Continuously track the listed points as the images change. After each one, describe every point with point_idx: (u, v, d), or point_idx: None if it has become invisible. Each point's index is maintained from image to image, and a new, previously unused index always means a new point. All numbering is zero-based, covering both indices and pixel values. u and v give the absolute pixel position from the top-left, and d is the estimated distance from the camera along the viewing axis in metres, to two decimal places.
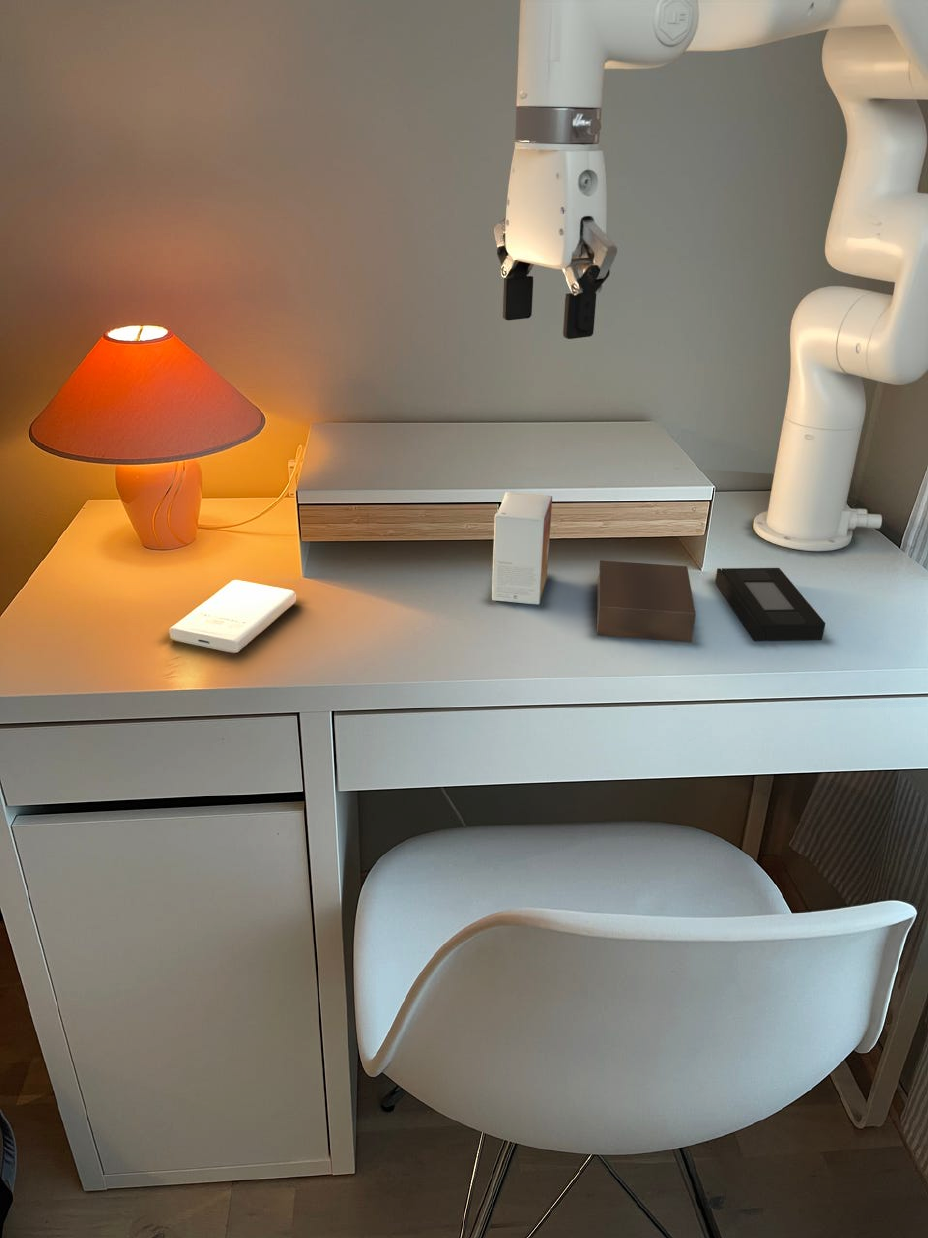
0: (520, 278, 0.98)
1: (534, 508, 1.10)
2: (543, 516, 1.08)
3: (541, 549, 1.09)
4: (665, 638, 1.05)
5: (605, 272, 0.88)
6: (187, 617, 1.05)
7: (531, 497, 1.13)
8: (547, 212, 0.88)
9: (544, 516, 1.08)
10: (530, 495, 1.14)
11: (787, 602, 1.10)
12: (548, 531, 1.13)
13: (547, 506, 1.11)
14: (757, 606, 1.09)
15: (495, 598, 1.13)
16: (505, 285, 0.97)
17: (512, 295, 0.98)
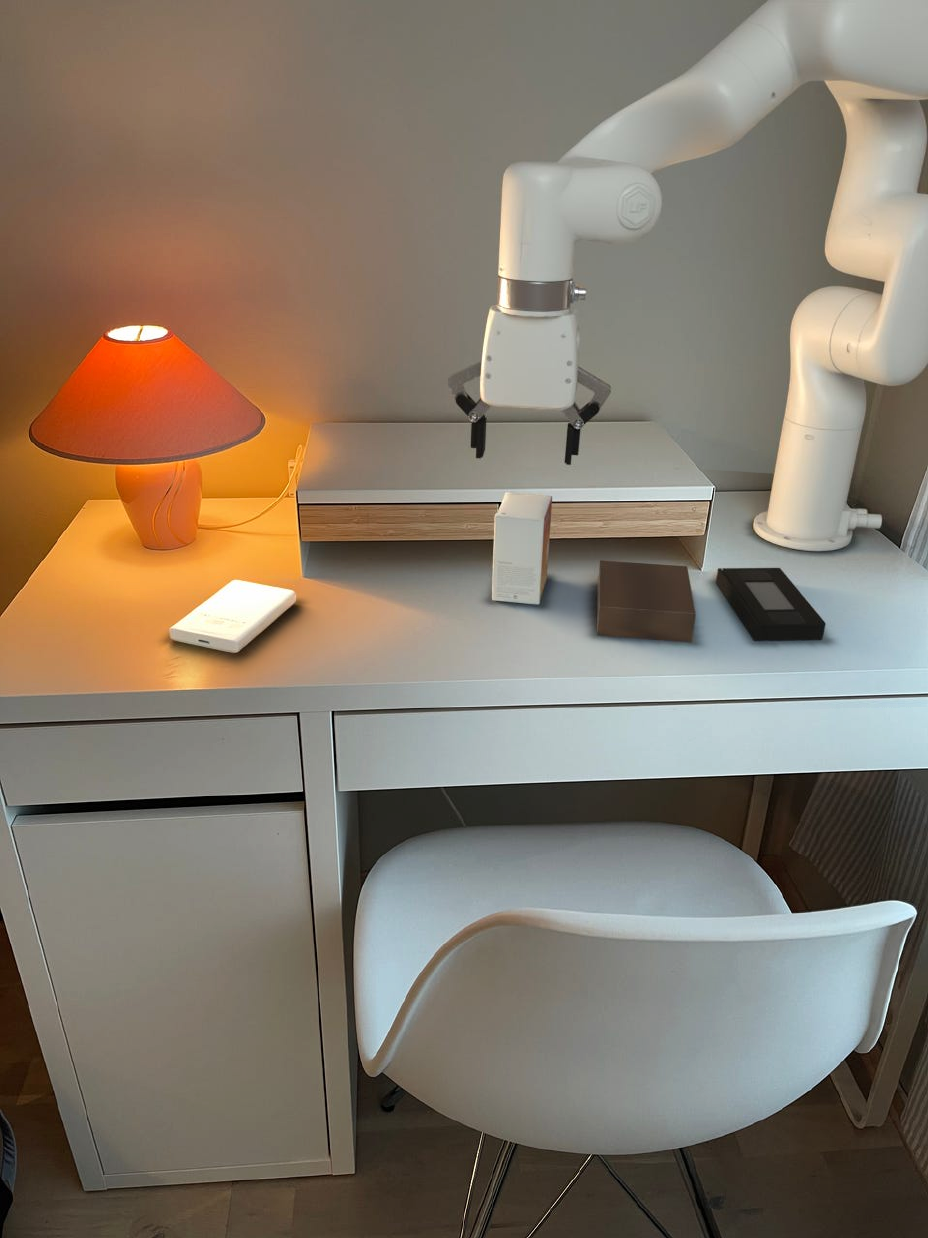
0: (483, 420, 1.07)
1: (534, 508, 1.10)
2: (543, 516, 1.08)
3: (541, 549, 1.09)
4: (665, 638, 1.05)
5: None
6: (187, 617, 1.05)
7: (531, 497, 1.13)
8: (551, 366, 1.01)
9: (544, 516, 1.08)
10: (530, 495, 1.14)
11: (788, 602, 1.10)
12: (548, 531, 1.13)
13: (547, 506, 1.11)
14: (758, 606, 1.09)
15: (495, 598, 1.13)
16: (479, 429, 1.06)
17: (483, 436, 1.07)
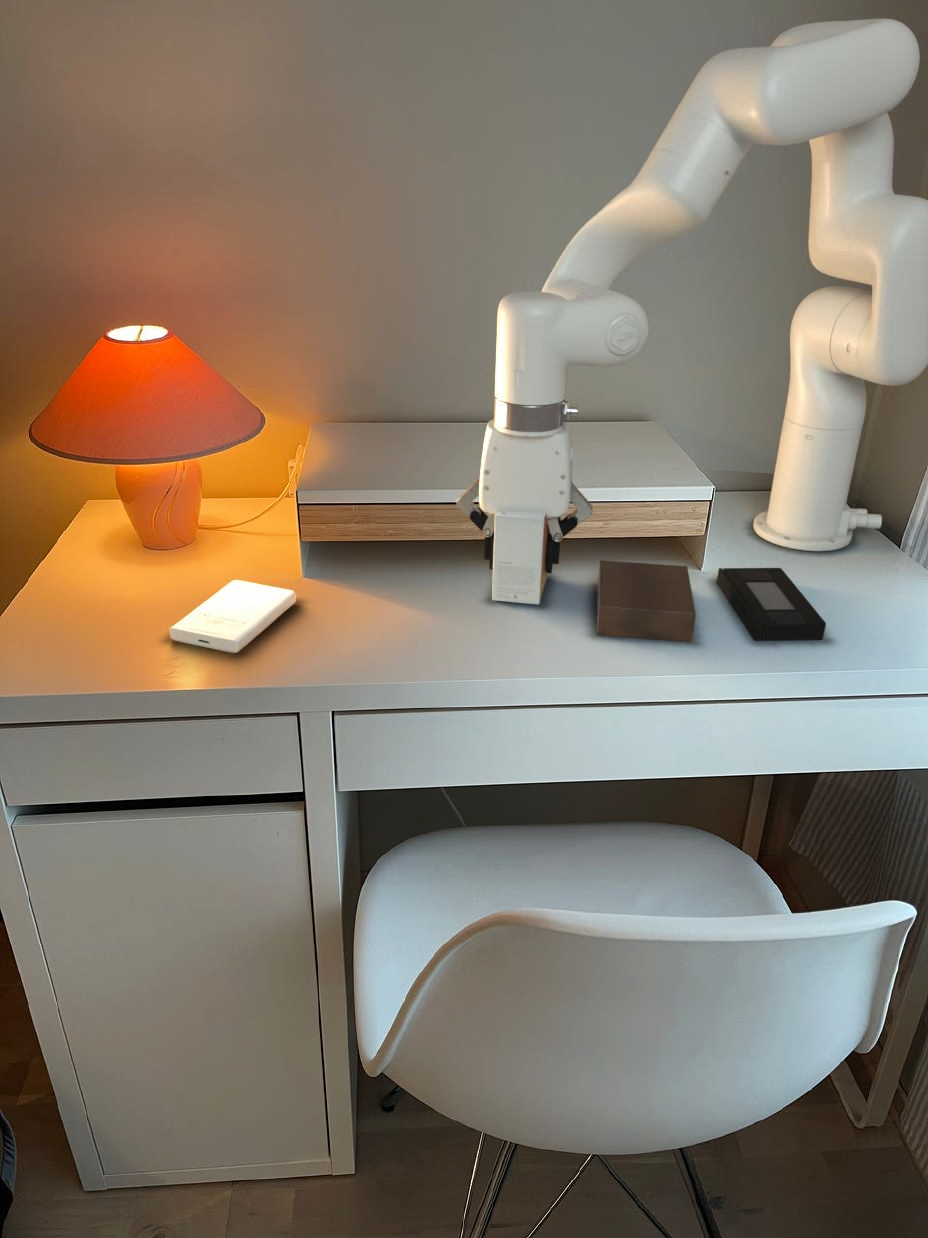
0: None
1: None
2: (543, 516, 1.08)
3: (541, 549, 1.09)
4: (665, 638, 1.05)
5: None
6: (187, 617, 1.05)
7: None
8: (545, 479, 1.07)
9: (544, 516, 1.08)
10: None
11: (788, 602, 1.10)
12: (548, 531, 1.13)
13: None
14: (758, 606, 1.09)
15: (495, 598, 1.13)
16: (492, 543, 1.12)
17: None
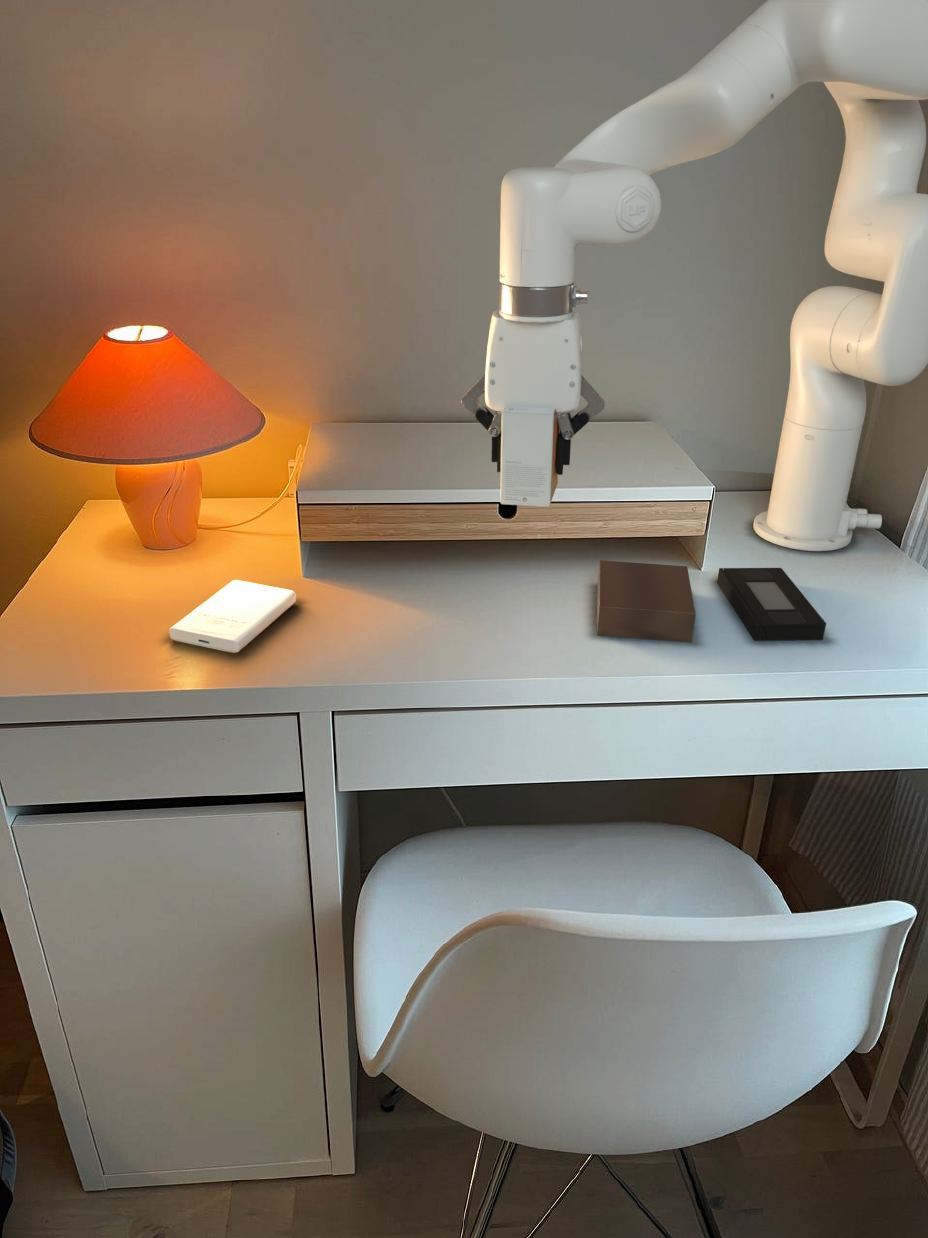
0: None
1: None
2: (553, 410, 1.03)
3: (551, 446, 1.04)
4: (665, 638, 1.05)
5: None
6: (187, 617, 1.05)
7: None
8: (554, 370, 1.02)
9: (554, 410, 1.03)
10: None
11: (788, 602, 1.10)
12: (558, 430, 1.08)
13: None
14: (758, 606, 1.09)
15: (504, 501, 1.07)
16: (500, 443, 1.07)
17: None
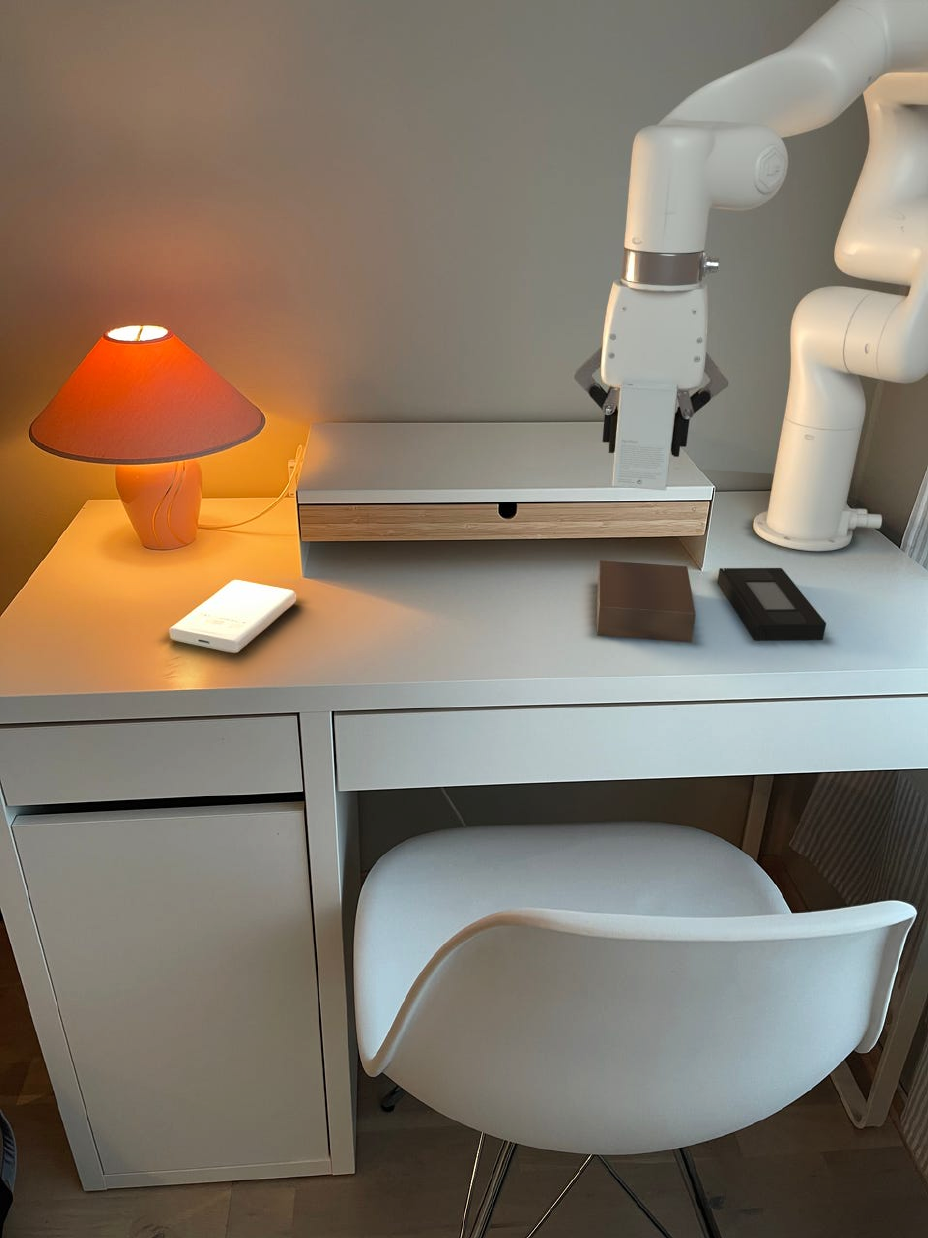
0: (617, 412, 1.02)
1: None
2: (675, 386, 0.97)
3: (672, 424, 0.97)
4: (665, 638, 1.05)
5: None
6: (187, 617, 1.05)
7: None
8: (679, 343, 0.95)
9: (676, 387, 0.97)
10: None
11: (789, 602, 1.10)
12: None
13: None
14: (758, 606, 1.09)
15: (616, 484, 1.01)
16: (614, 422, 1.00)
17: None
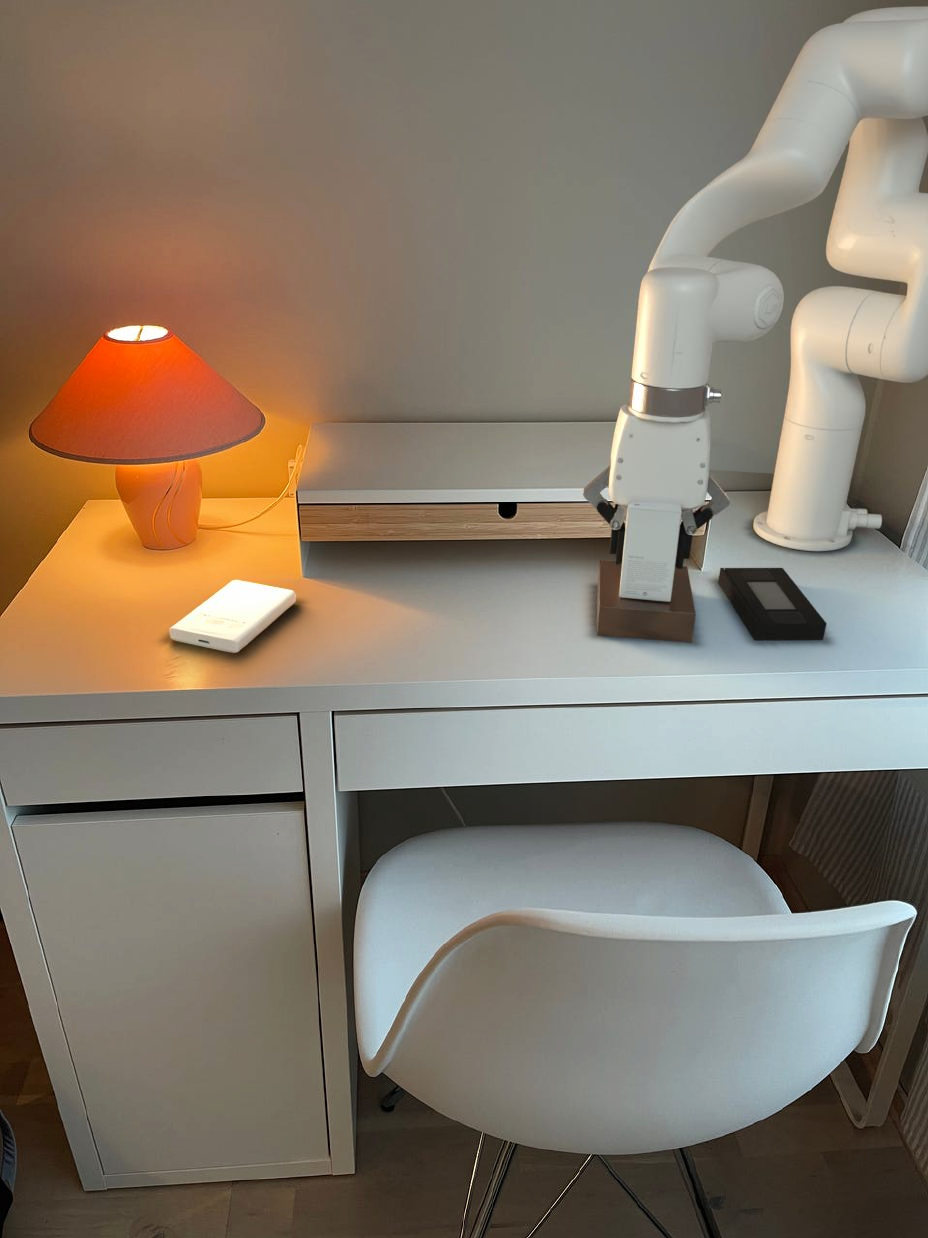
0: (624, 526, 1.07)
1: None
2: (680, 507, 1.02)
3: (676, 543, 1.02)
4: (665, 638, 1.05)
5: None
6: (187, 617, 1.05)
7: None
8: (683, 468, 1.00)
9: (680, 507, 1.02)
10: None
11: (789, 601, 1.10)
12: None
13: None
14: (759, 606, 1.09)
15: (623, 595, 1.06)
16: (621, 537, 1.05)
17: None
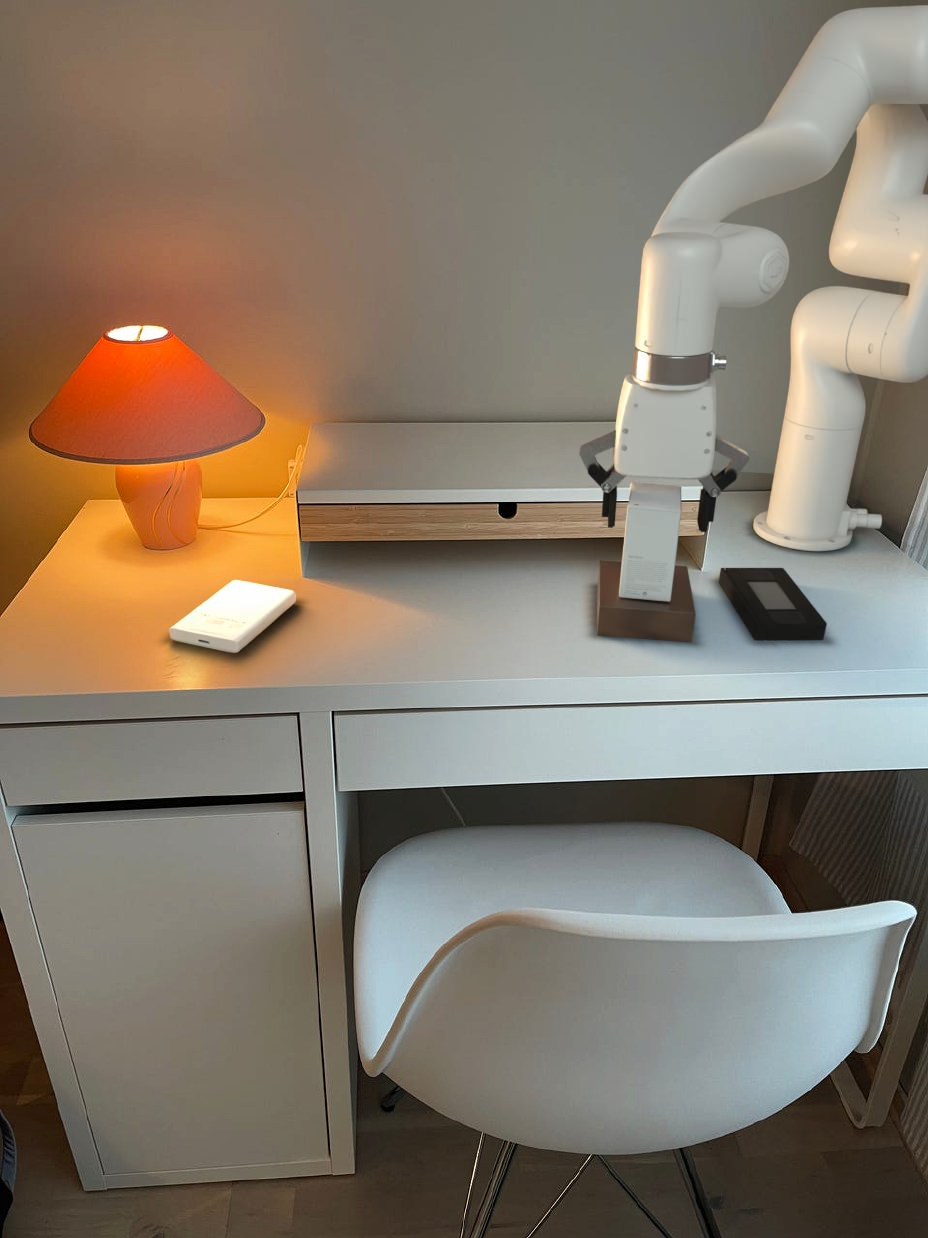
0: (615, 489, 1.05)
1: (667, 499, 1.03)
2: (679, 507, 1.02)
3: (676, 542, 1.02)
4: (665, 638, 1.05)
5: None
6: (187, 617, 1.05)
7: (660, 488, 1.07)
8: (689, 437, 0.99)
9: (680, 507, 1.02)
10: (658, 485, 1.07)
11: (789, 601, 1.10)
12: None
13: (680, 497, 1.04)
14: (759, 606, 1.09)
15: (623, 595, 1.06)
16: (612, 499, 1.04)
17: None
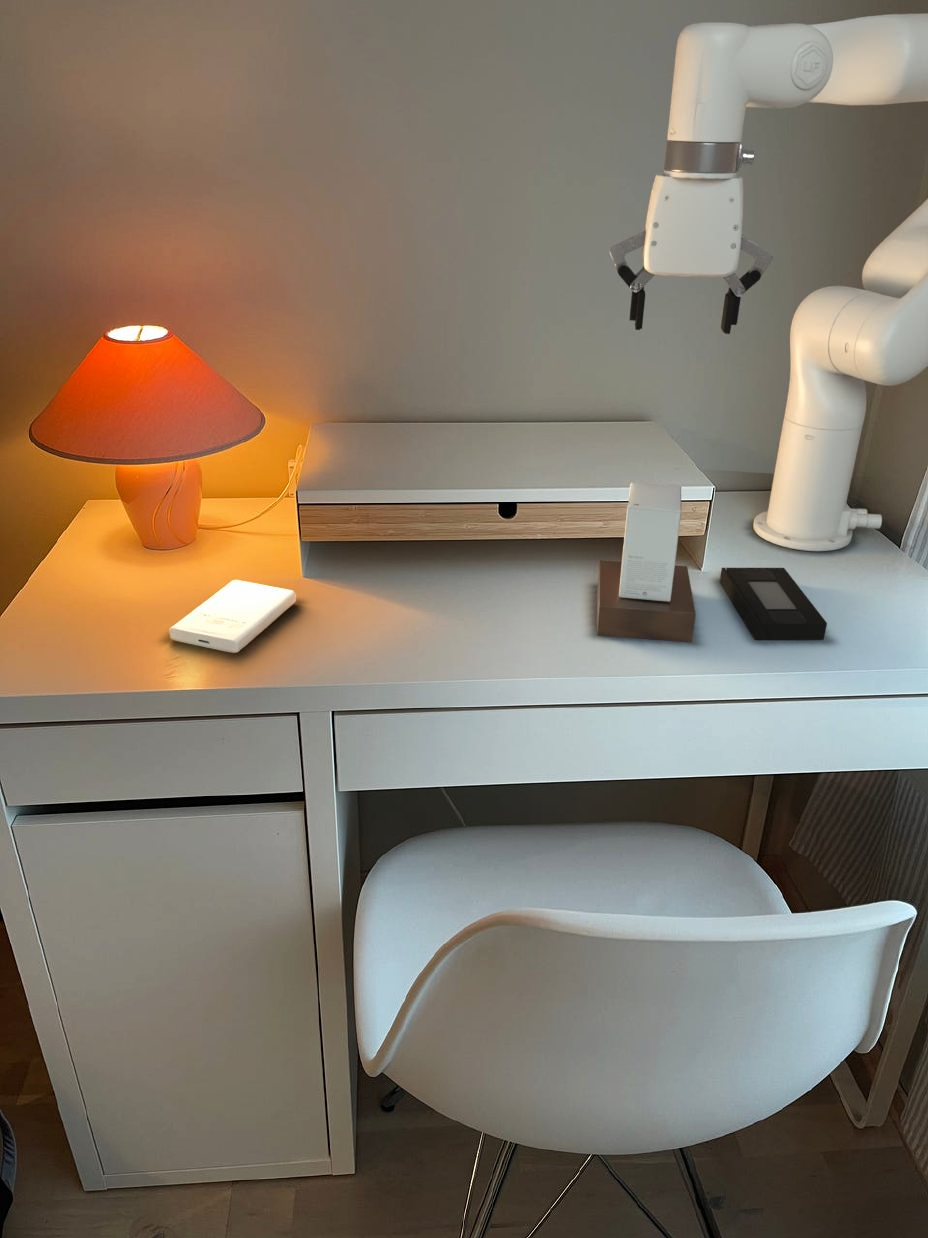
0: (643, 291, 1.09)
1: (667, 499, 1.03)
2: (679, 507, 1.02)
3: (676, 542, 1.02)
4: (665, 638, 1.05)
5: None
6: (187, 617, 1.05)
7: (660, 488, 1.07)
8: (717, 230, 1.04)
9: (680, 507, 1.02)
10: (658, 485, 1.07)
11: (790, 601, 1.10)
12: None
13: (680, 497, 1.04)
14: (759, 605, 1.09)
15: (623, 595, 1.06)
16: (641, 299, 1.08)
17: (643, 307, 1.09)
